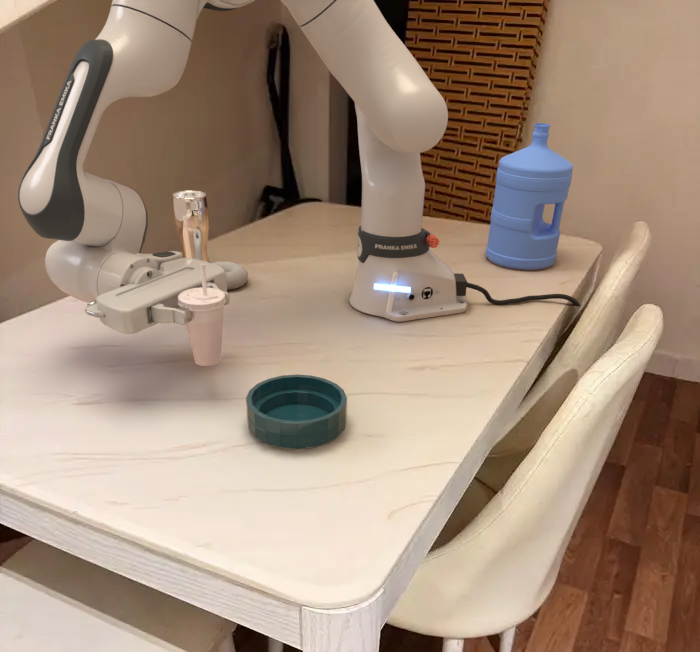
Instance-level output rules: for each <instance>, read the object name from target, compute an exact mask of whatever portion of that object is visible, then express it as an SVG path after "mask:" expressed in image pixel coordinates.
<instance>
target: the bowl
mask: <svg viewBox="0 0 700 652" xmlns="http://www.w3.org/2000/svg"><path fill="white" fill-rule="evenodd" d="M245 404H246V420H247V427H248V431H249V432H250V433H251V434H252V436H254V438H255V439H257V440H258V441H260V442H262V443H264V444H266V445H268V446H272V447H276V448H280V449H291V450H301V449H302V450H304V449H313V448H316V447H320V446H324V445H327V444H329V443H331V442H333V441H335V440H337V439H338V438H339V437H340V436H341V435H342V434H343V433H344V432H345V430H346V426H347V413H348V412H347V411H348V396H347V394H346V392H345V389H343V388H342V387H341V386H340V385H339V384H337V383H336V382H334V381H332V380H329V379H327V378H324V377H319V376H315V375H311V374H299V373H298V374H297V373H296V374H284V375H277V376H274V377H270V378H267V379H264V380H262V381H260V382H258V383H257V384H255V385H254V386H253V387H251V389H249V391H248V393H247V395H246V397H245Z"/></svg>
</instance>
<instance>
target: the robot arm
mask: <svg viewBox="0 0 700 652" xmlns="http://www.w3.org/2000/svg"><path fill="white" fill-rule="evenodd" d="M255 1H256V0H112V1H111V5H110V10H109V13H108V17H107V19H106V22H105V24H104V26H103V27H102V29H101V31H100V32H99V34H98V36H97V37H96V38H95V39H91V40H88V41H86V42H84V44H82V45H81V46H80V48H79V49H78V50H77V52H76V54H75V56H74V58H73V60H72V62H71V64H70V66H69V69H68V71H67V74H66V76H65V79H64V81H63V84H62V86H61V88H60V92H59V94H58V97H57V99H56V102H55V104H54V107H53V110H52V112H51V115H50V117H49V121H48V123H47V126H46V128H45V132H44V133H43V137H42V139H41V142H40V144H39V147H38V149H37V151H36V153H35V155H34V157H33V159H32V160H31V162H30V164H29V166H28V167H27V169H26V170H25V172H24V174H23V175H22V177H21V180H20V184H19V185H18V191H17V201H18V205H19V208H20V211H21V213H22V215H23V217H24V219H25V220H26V222H27V223H28V225H29V227H30V228H31V229H32V230H33V231H34V233H36V234H37V235H38V236H39V237H41V238H43V239H47V240H48V239H49V240H56V241H55V242H53V243H52V244H50V246H49V247H48V249H47V251H46V254H45V258H44V259H45V260H44V265H45V266H44V267H45V270H46V273H47V275H48V277H49V279H50V281H51V282H52V283H53V284H54V286H55V287H57V288H58V289H59V290H60V291H61V292H63V293H64V294H66V295H68V296H70V297H72V298H74V299H76V300H78V301H81V302H84V303H86V305H87V306H85V308H84V312H85V314H86V315H88V316H91V317H94V318H96V319H97V318H98V319H99V321H100V323H102V325H104V326H106V327H108V328H110V329H111V330H113V331H116V332H118V333H121V334H123V335H135V334H137V333H139V332H142V331H144V330H147V329H148V328H151V327H152V326H155V325H157V324H179V325H181V326H184V325H186V323H188V322H190V321H192V317H191V311H190V310H189V309H185V308H184V307H180V306H179V305H178V295H179V294H180V293H181V292H183V291H185V290H188V289H192V288H201V287H202V277H201V267H200V264H205V275H206V286H207V288H214V289H218V290H220V291H222V292H223V293H224V294H225V300H226V303H225V304H224V305H223V307H225V306H226V305H229V304H230V301H231V300H230V294H229V292H227V291H228V290H227V279H226V272H225V270H224V269H223V268H222V267H220V266H218V265H215V264H212V263H213V262H210V263H209V262H205V261H202V260H198V259H194V258H182V252H180V251H177V250H168V251H161V252H153V253H142V249H143V247H144V244H145V242H146V237H147V232H148V226H149V224H148V223H149V215H148V211H147V207H146V204H145V202H144V200H143V197H142V196H141V194H139V193H138V191H137V190H135V189H133V188H131V187H128V186H126V185H123V184H121V183H119V182H115V181H113V180H111V179H106V178H103V177H100V176H97V175H94V174H92V173H90V172H86V171H84V163H85V160H86V157H87V155H88V152H89V150H90V146H91V144H92V142H93V139H94V136H95V133H96V132H97V128H98V126H99V124H100V121H101V118H102V116H103V114H104V112H105V111H106V109H107V108H108V107H109V106H110V105H111V104H112V103H114V102H116V101H118V100H121V99H125V98H151V97H156V96H159V95H162V94H165V93H167V92H169V91H170V90H171V89H173V88H174V87H175V86H176V85H177V84H179V82H180V80H181V78H182V76H183V74H184V72H185V69H186V66H187V63H188V61H189V56H190V51H191V48H192V43H193V39H194V36H195V35H194V34H195V30H196V25H197V20H198V19H199V17H200V15H201V12H202V10H203V9H206V10H211V11H217V12H229V11H234V10H235V9H239V8H241V7H245V6H248V5H250V4H253V3H254V2H255ZM279 1H280V2H281V3H282V4H283V5H284V6H285V7H286V8H287V10H288V11H289V14H290V15H291V16H292V18H293V19H294V21H295V23H296V24H297V26H298V27H299V29H300V30H301V32H302V33H303V34H304V36H305V37H306V39H307V41H308V42H309V43H310V45H311V46H312V47H313V49H314V50H315V52H316V53H317V55H318V56H319V58H320V59H321V61H322V62H323V63H324V66H325V67H326V68H327V70H328V71H329V72H330V74H331V75H332V77H334V78H335V79H336V81H337V82H338V83H339V84H340V85H341V86H342V88H343V89H344V91H345V92H346V93H347V95H348V96H349V97H350V98H351V99H352V101H353V102H354V109H355V116H356V121H357V137H358V138H357V139H358V140H357V141H358V151H359V152H358V153H359V161H360V169H361V170H360V172H361V208H360V209H361V212H360V225H359V226H358V230H357V231H358V232H357V236H356V256H357V259H358V260H357V267H356V274H355V279H354V282H353V283H354V284H353V288H352V291H351V295H350V297H349V300H348V301H349V304H350V306H351V307H353V308H354V309H355V310H357V311H359V312H362V313H364V314H368V315H371V316H376V317H381V318H384V319H387V320H390V321H393V322H398V323H401V322H409V321H415V320H421V319H428V318H435V317H441V316H449V315H455V314H461V313H465V312H466V311H467V309H468V301H467V299H466V294H467V288H468V289H472V290H475V291H478V292H480V293H482V294H483V296H484V297H485V299H486V300H487V302H489V303H490V304H492V305H496V306H504V305H505V306H506V305H512V304H519V303H523V302H528V301H529V302H530V301H543V300H552V299H553V300H555V299H556V300H557V299H559V300H565V301H568V302H570V303H572V305H574V307H581V306H582V305H581V304H580V302H579V301H578V300H577V299H576V298H574V297H573V296H571V295H568V294H565V293H549V294H537V295H535V294H534V295H525V296H521V297H517V298H507V299H494V298H493V297H492V296H491V294H490V293H489V292H488V289H485V288H484V287H482V286H480V285H478V284H474V283H471V282H468V281H467V279H466V277H465V274H464V273H457V272H456V273H454V271H453V269H452V268H451V267H450V266H449V265H448V264H447V263H446V262H444V261H443V260H442V259H441V257H439V256H438V255H437V254H436V253H434V251H432V250H431V249H436V248H438V246H439V245H440V239H439V237H437V236H436V235H435V234H433V233H431V232H429V231H428V230H426V229H425V228H423V217H424V207H425V206H424V205H425V194H426V192H425V191H426V181H425V178H424V174H423V168H422V161H421V153H424V152H427V151H429V150H431V149H432V148H434V147H435V146H436V145H437V144H438V143H440V141H441V140H442V139H443V136H444V134H445V132H446V130H447V128H448V127H447V126H448V121H449V112H448V106H447V103H446V101H445V99H444V97H443V96H442V94H441V93H440V92H439V90H438V89H437V88H436V87H435V85H434V83H433V82H432V81H431V80H430V78H429V77H428V75H427V74H426V72H425V71H424V69H423V68H422V67H421V65H420V64H419V62H418V61H417V60H416V58H415V57H414V56H413V54H412V53H411V52H410V50H409V48H407V46H406V45H405V44H404V43H403V41H402V40H401V39H400V38H399V36H398V35H397V34H396V32H395V31H394V30H393V29H392V27H391V26H390V24H389V23H388V22H387V19H385V17H384V15H383V13H382V11H381V10H380V8H379V7H378V5H377V3H376V2H375V0H279ZM430 248H431V249H430Z"/></svg>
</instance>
